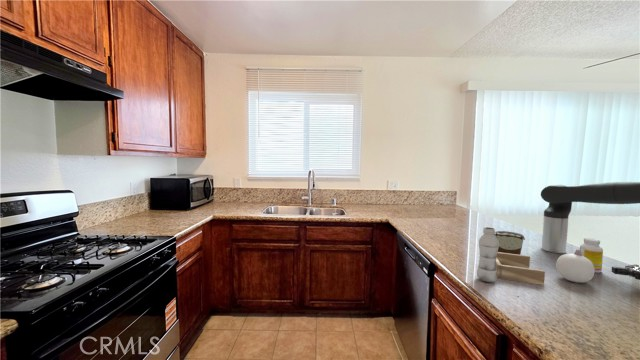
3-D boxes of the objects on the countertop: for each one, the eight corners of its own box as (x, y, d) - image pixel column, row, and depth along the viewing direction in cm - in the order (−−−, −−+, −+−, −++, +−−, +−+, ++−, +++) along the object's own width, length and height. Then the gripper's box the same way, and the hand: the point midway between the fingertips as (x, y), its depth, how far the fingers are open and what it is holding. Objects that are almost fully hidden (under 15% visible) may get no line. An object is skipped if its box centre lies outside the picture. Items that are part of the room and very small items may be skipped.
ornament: (592, 280, 98) (594, 249, 98) (594, 290, 91) (597, 256, 90) (555, 272, 105) (557, 243, 105) (555, 281, 98) (557, 250, 97)
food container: (522, 253, 128) (523, 233, 127) (524, 256, 123) (525, 236, 122) (492, 248, 135) (493, 229, 134) (492, 252, 130) (493, 232, 129)
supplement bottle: (606, 273, 104) (608, 242, 103) (586, 272, 106) (589, 241, 105) (592, 267, 111) (594, 237, 110) (574, 266, 112) (576, 236, 111)
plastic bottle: (472, 277, 101) (474, 226, 100) (488, 276, 102) (491, 226, 100) (484, 284, 95) (486, 230, 93) (501, 284, 95) (504, 230, 94)
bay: (489, 262, 116) (489, 251, 116) (528, 267, 111) (529, 255, 110) (497, 277, 101) (498, 265, 100) (544, 285, 95) (544, 271, 94)
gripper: (668, 260, 92) (602, 253, 99) (704, 275, 80) (626, 266, 87) (666, 281, 93) (601, 273, 100) (701, 299, 81) (624, 288, 88)
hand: (613, 270), depth 94 cm, fingers closed
